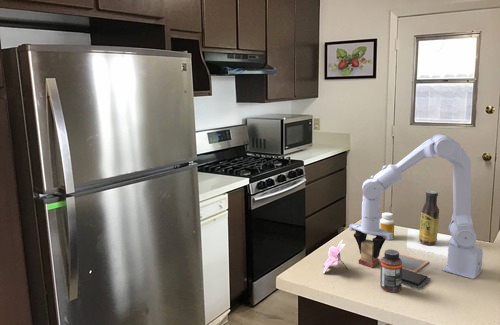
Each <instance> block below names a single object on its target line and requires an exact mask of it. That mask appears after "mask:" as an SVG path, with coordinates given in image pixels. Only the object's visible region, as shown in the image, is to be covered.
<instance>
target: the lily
mask: <svg viewBox="0 0 500 325" xmlns="http://www.w3.org/2000/svg"><path fill="white" fill-rule="evenodd" d="M343 241H344V240H343V239H341V241H339V243H338V245H337V246H333V245H332V246H330V247H329V249H328V252H327V253H328V254H327V256H328V258H327V259H326V260H325V262H324V264H323V266H324V268H323V271H322V275H324V274H325V272H326V270H327V269H328V268H329V267H330V265H332V264H333V265H338V262H341V263H342V265H344V267H345V269H346V270H348V267H347V266H346V264H345V263H344V261H342V259H341V250H342V249H344V247H345V246H346V243H343Z"/></svg>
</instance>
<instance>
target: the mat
mask: <svg viewBox="0 0 500 325" xmlns="http://www.w3.org/2000/svg"><path fill="white" fill-rule="evenodd" d="M399 258H400V259H401V260H402V269H405V270H408V271H412V272H415V273H418V272H419V271H420V270H422V269H423V268H424V267H426V265H428V264H429V263H430V261H429V260H425V259H422V258H418V257H414V256H410V255H407V254H404V253H403V254H402V253H401V252H399Z"/></svg>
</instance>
